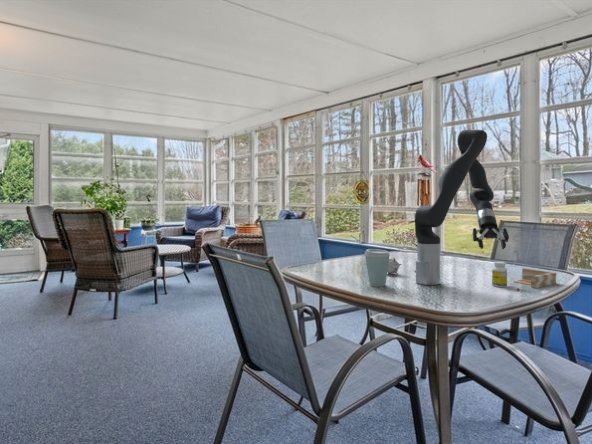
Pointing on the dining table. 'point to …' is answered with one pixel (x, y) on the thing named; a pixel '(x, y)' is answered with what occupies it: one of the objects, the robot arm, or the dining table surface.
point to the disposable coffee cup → (377, 266)
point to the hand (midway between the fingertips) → (492, 247)
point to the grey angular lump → (393, 266)
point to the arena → (537, 278)
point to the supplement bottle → (499, 275)
